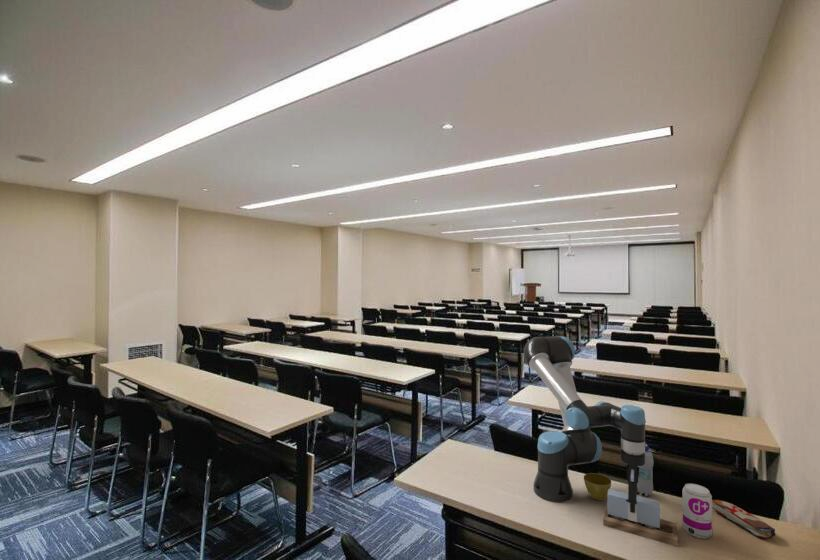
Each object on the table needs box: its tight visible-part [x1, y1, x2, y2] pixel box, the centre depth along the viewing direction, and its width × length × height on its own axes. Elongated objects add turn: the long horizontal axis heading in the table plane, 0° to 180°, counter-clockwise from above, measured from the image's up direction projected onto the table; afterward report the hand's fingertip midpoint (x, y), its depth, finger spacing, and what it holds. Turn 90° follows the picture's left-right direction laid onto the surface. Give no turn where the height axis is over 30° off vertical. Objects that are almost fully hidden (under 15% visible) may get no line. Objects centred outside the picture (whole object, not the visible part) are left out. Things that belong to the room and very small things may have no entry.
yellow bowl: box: [583, 472, 612, 501], centre depth 160 cm, size 10×10×7 cm
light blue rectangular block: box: [606, 488, 661, 530], centre depth 141 cm, size 16×4×9 cm, turn 58°
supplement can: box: [681, 483, 713, 540], centre depth 137 cm, size 8×8×15 cm
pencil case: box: [712, 499, 776, 540], centre depth 142 cm, size 11×20×5 cm, turn 177°
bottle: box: [637, 444, 654, 497], centre depth 163 cm, size 7×7×20 cm
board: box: [602, 504, 679, 547], centre depth 140 cm, size 22×11×2 cm, turn 59°
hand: (632, 516), depth 141 cm, fingers closed on light blue rectangular block, 4 cm apart
